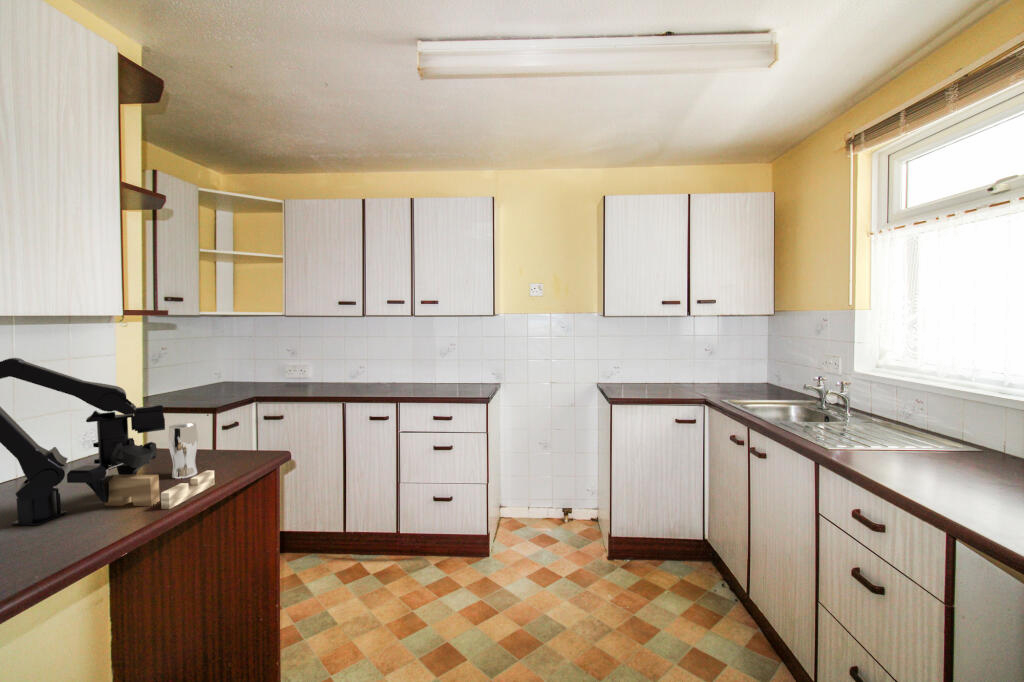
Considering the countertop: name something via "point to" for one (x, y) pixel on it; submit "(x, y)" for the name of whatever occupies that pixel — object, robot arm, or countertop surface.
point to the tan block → (133, 490)
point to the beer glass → (183, 449)
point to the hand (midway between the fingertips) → (116, 497)
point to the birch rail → (187, 489)
